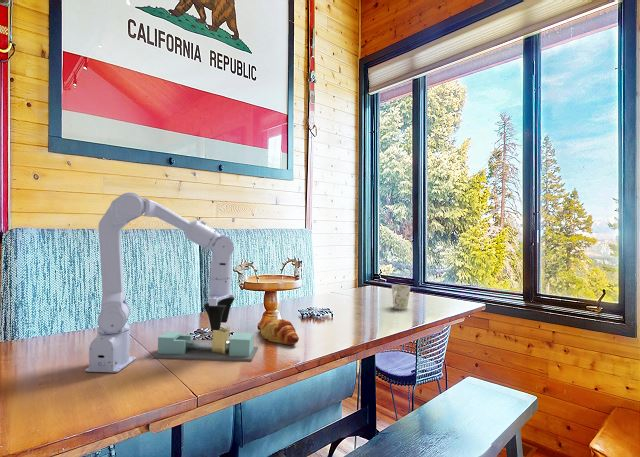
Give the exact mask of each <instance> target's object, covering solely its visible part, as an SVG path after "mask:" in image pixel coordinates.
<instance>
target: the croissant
mask: <svg viewBox="0 0 640 457" xmlns="http://www.w3.org/2000/svg"><path fill="white" fill-rule="evenodd" d="M260 333H261V336H262V337H263V339H265V340H268V342H269V341H270V342H272V343H277V344H278V343H279V344H283V345H290V346H291V345H294V344H297V343H298V342H299V340H300V338H299V335H298V333H297V332H296V328H295V327H294V325H293V323H292V322H291V321H289V320H287V319H284V318H281V319H280V318H279V319H270V320H266V321H264V322H263V323H262V324H261V325H260Z"/></svg>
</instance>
